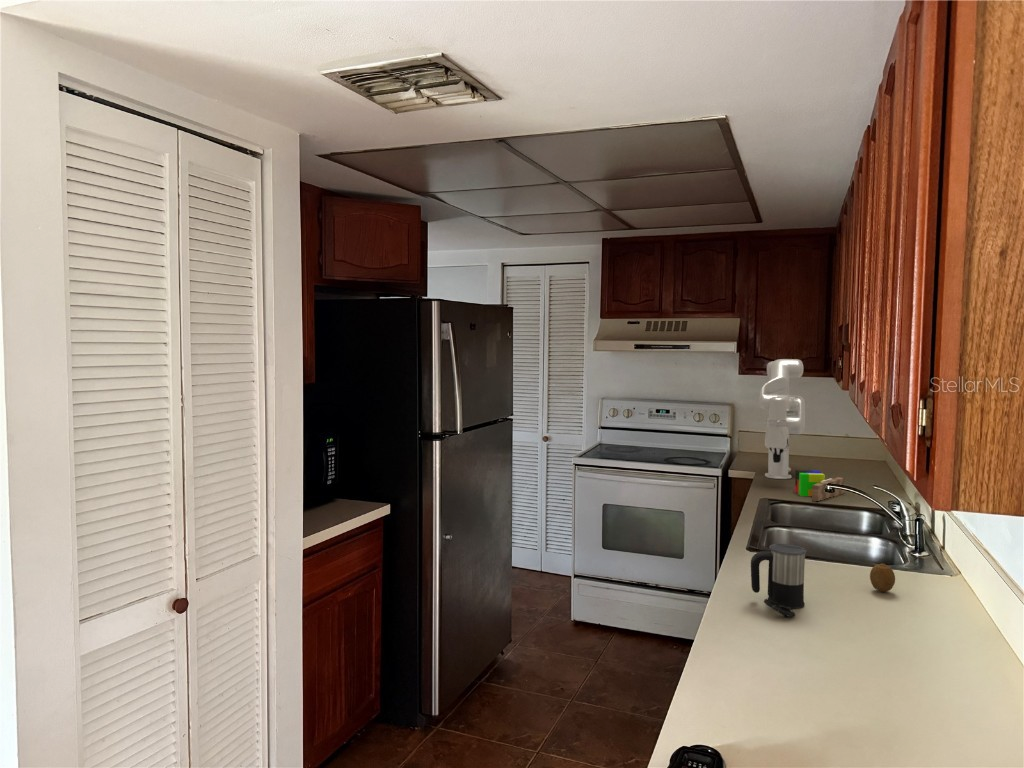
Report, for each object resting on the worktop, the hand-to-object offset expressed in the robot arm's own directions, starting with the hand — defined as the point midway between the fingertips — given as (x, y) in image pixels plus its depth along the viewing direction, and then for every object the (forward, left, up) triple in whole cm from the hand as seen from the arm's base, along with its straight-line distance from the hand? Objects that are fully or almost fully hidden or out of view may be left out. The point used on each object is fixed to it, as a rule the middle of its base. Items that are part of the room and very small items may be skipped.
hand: (776, 462), depth 332 cm
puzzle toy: (+1, +16, -13) cm, 21 cm away
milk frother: (+138, +74, -13) cm, 157 cm away
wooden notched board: (+1, +25, -12) cm, 28 cm away
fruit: (+107, +87, -13) cm, 138 cm away
